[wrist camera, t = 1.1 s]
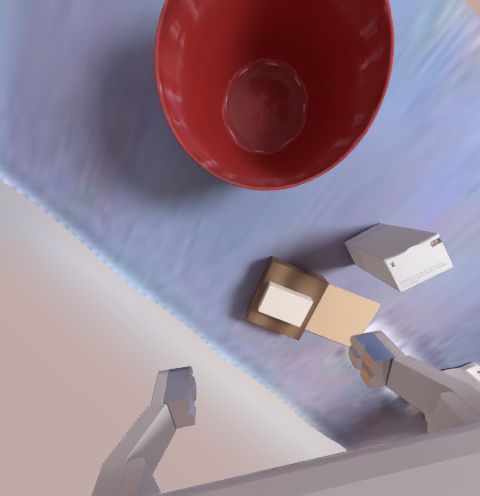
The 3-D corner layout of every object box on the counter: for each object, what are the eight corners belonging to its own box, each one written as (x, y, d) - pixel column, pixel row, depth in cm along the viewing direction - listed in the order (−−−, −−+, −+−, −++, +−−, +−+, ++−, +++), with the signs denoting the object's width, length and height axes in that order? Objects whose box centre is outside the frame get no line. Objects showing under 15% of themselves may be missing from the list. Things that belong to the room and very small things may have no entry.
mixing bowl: (378, 78, 39) (453, 8, 24) (285, 217, 46) (300, 230, 31) (239, -20, 37) (229, -162, 22) (164, 141, 44) (117, 115, 29)
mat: (380, 304, 49) (380, 304, 49) (353, 347, 52) (353, 348, 52) (321, 280, 49) (321, 281, 49) (297, 325, 52) (297, 326, 52)
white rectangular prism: (310, 297, 46) (313, 302, 44) (298, 321, 47) (300, 327, 45) (269, 281, 45) (270, 285, 43) (258, 306, 47) (258, 311, 45)
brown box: (323, 276, 49) (329, 283, 45) (295, 329, 52) (298, 340, 48) (271, 256, 48) (272, 261, 44) (247, 310, 52) (246, 320, 48)
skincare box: (354, 264, 48) (397, 296, 33) (342, 240, 47) (381, 262, 32) (393, 245, 46) (456, 269, 32) (381, 219, 45) (441, 233, 31)
